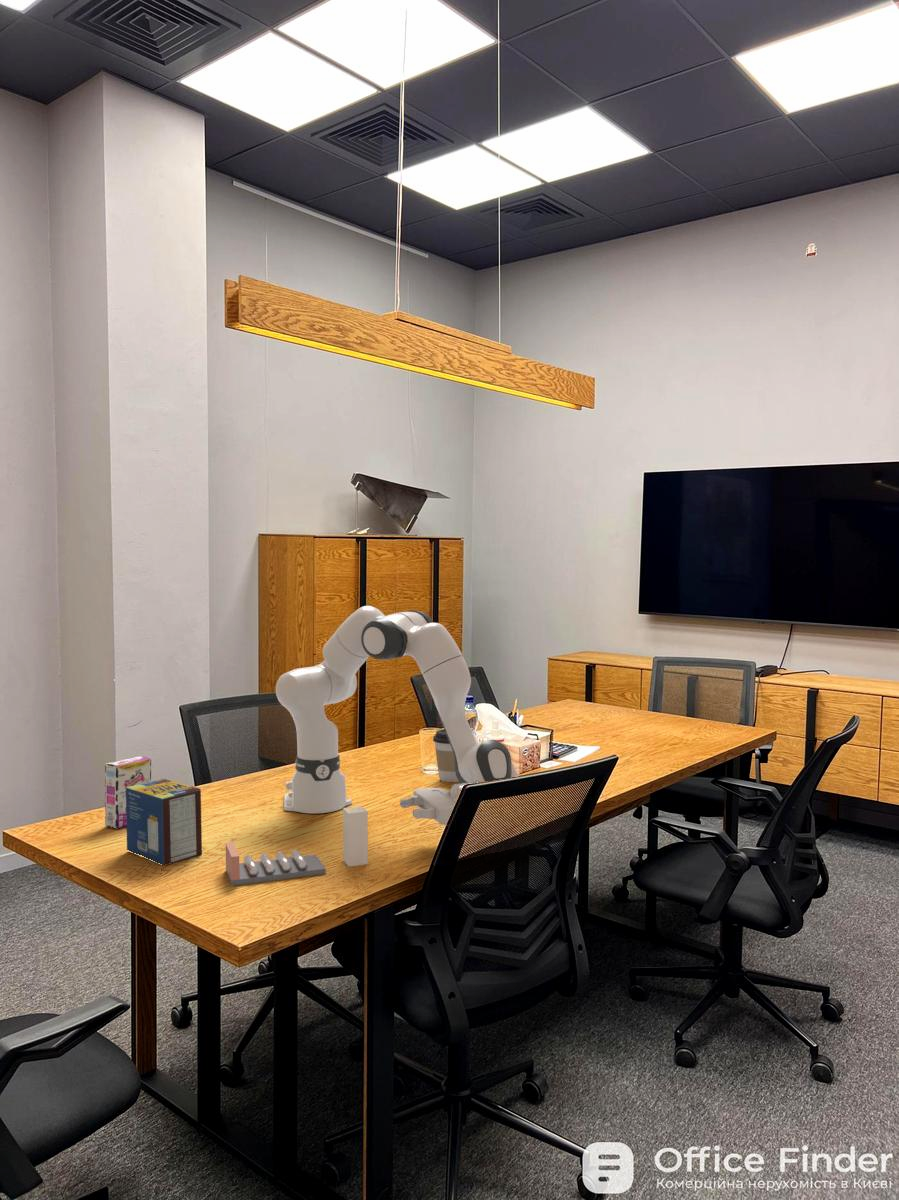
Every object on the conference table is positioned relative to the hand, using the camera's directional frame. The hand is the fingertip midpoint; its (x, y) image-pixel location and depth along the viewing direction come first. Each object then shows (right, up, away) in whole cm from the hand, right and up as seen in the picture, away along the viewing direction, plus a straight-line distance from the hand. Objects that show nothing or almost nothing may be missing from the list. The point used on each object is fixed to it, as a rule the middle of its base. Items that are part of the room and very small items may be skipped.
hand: (407, 808), depth 207 cm
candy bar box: (-73, -10, +26) cm, 78 cm away
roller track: (-28, -11, -10) cm, 32 cm away
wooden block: (-11, -11, -4) cm, 16 cm away
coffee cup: (+10, -8, +71) cm, 72 cm away
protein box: (-57, -11, +2) cm, 58 cm away
